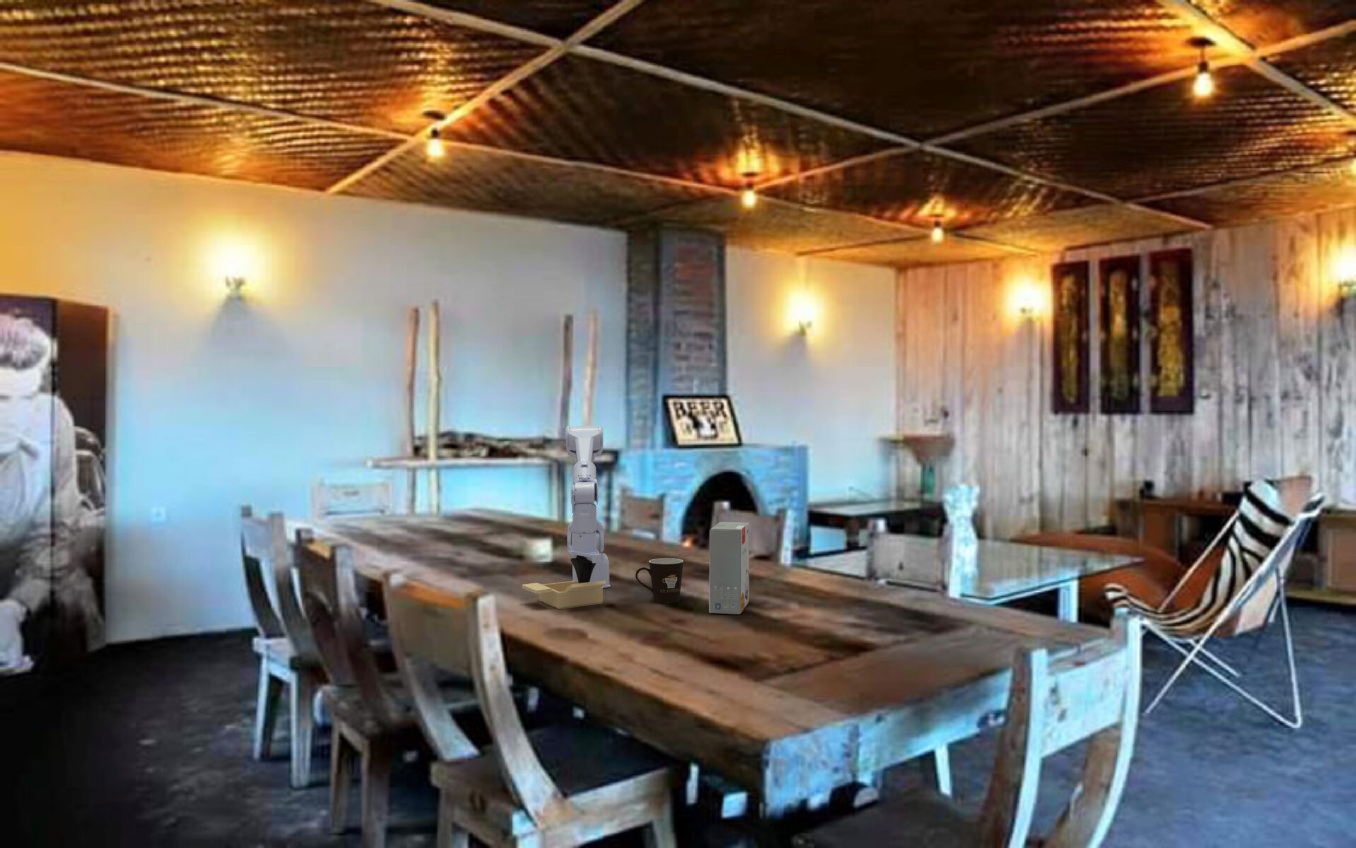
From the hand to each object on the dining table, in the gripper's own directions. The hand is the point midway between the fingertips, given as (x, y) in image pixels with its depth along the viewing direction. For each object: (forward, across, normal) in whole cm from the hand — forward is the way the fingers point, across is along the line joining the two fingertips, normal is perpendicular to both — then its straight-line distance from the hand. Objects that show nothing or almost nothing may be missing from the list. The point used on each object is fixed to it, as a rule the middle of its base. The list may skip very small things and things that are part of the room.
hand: (584, 587), depth 227 cm
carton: (+5, -8, 0) cm, 10 cm away
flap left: (-1, 0, 0) cm, 1 cm away
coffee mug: (+5, +3, +20) cm, 20 cm away
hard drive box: (+5, +19, +30) cm, 35 cm away
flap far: (0, -8, -9) cm, 12 cm away
